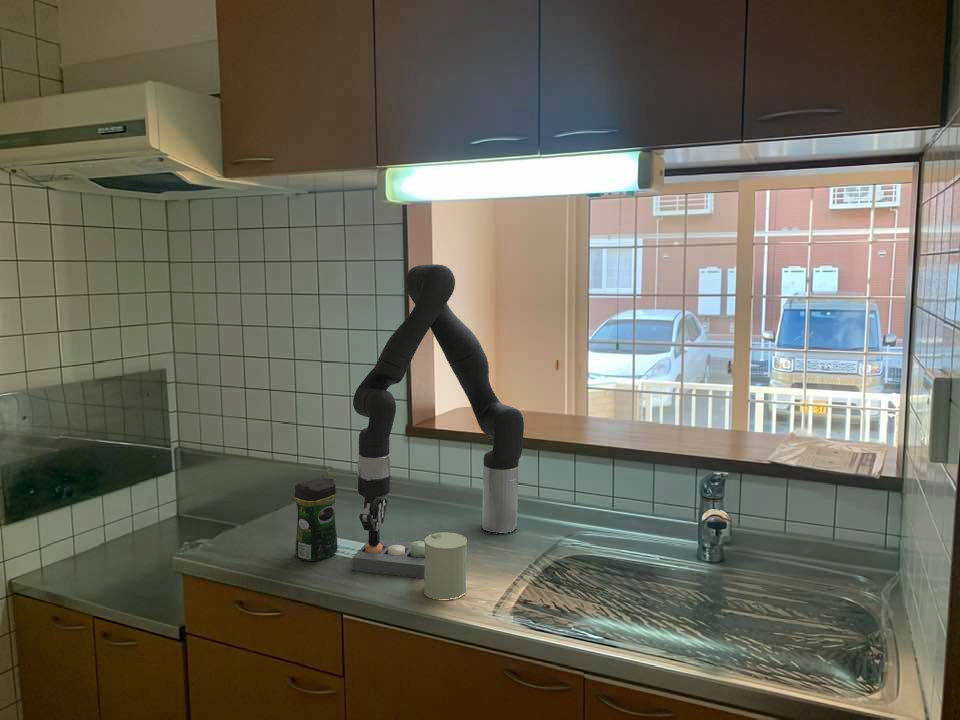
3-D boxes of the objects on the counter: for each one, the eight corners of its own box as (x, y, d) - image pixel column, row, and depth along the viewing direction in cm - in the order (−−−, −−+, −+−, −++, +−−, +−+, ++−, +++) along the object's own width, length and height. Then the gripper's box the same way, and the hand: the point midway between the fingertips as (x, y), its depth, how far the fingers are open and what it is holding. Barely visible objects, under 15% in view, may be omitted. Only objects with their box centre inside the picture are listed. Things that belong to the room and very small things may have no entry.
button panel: (370, 550, 180) (370, 538, 179) (438, 557, 176) (438, 545, 176) (352, 570, 168) (352, 557, 168) (424, 578, 165) (424, 565, 164)
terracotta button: (368, 553, 176) (368, 541, 175) (384, 555, 175) (384, 543, 174) (362, 560, 172) (362, 548, 171) (379, 562, 171) (379, 549, 171)
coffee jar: (320, 544, 183) (320, 471, 180) (342, 552, 178) (342, 478, 175) (289, 556, 175) (288, 480, 172) (311, 565, 170) (310, 487, 168)
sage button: (413, 552, 173) (413, 540, 173) (429, 554, 172) (429, 541, 172) (408, 559, 169) (408, 546, 169) (424, 560, 168) (425, 548, 168)
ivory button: (390, 556, 174) (391, 544, 174) (407, 558, 174) (407, 545, 173) (385, 563, 171) (385, 550, 170) (401, 564, 170) (401, 552, 169)
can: (443, 578, 165) (444, 526, 163) (475, 590, 159) (476, 537, 158) (414, 591, 158) (415, 538, 156) (446, 605, 152) (447, 549, 151)
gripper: (368, 464, 178) (368, 533, 180) (347, 480, 165) (348, 554, 167) (398, 466, 176) (398, 536, 178) (379, 482, 163) (379, 557, 166)
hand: (374, 544), depth 173 cm, fingers closed
